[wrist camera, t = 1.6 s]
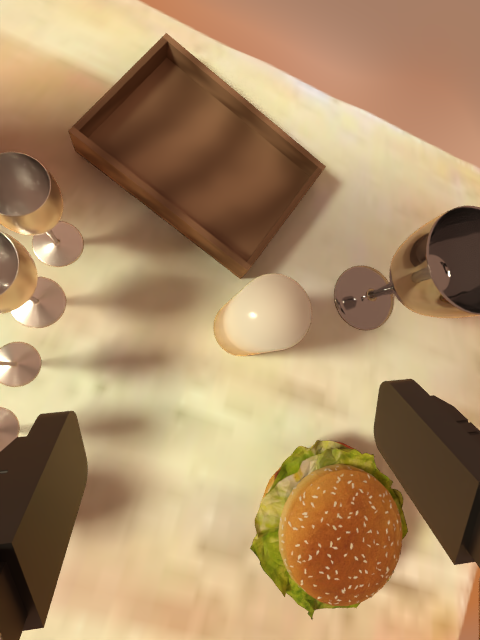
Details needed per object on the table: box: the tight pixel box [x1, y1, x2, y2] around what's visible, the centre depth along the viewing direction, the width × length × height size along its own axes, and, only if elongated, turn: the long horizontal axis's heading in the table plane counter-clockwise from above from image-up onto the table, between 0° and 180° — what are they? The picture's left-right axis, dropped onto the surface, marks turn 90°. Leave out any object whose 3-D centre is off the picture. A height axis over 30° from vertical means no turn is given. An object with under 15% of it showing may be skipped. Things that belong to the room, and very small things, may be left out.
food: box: [250, 440, 408, 619], centre depth 34 cm, size 14×14×8 cm
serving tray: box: [69, 33, 326, 279], centre depth 38 cm, size 20×14×3 cm
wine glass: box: [334, 206, 480, 330], centre depth 35 cm, size 8×8×15 cm
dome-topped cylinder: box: [213, 274, 312, 356], centre depth 33 cm, size 6×6×11 cm
